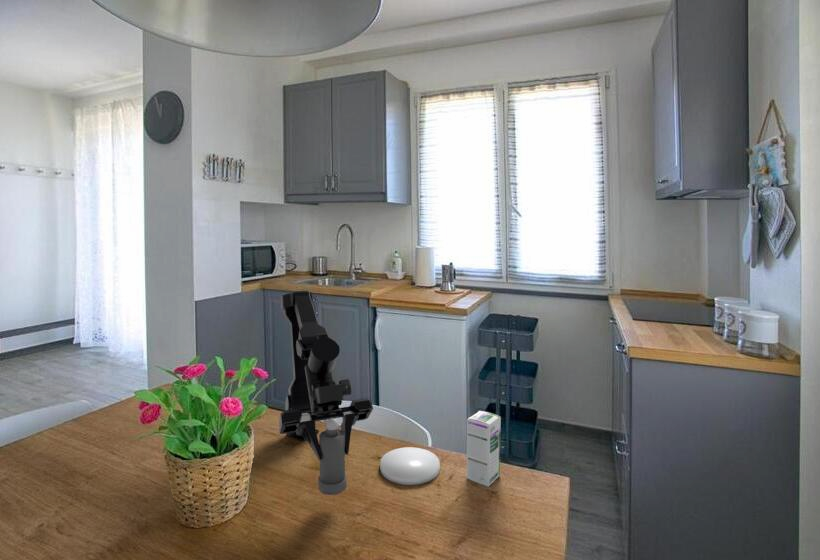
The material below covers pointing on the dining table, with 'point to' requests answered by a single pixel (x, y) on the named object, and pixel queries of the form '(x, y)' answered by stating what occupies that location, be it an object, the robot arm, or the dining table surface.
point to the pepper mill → (332, 459)
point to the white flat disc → (410, 466)
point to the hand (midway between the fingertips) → (333, 456)
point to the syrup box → (483, 447)
